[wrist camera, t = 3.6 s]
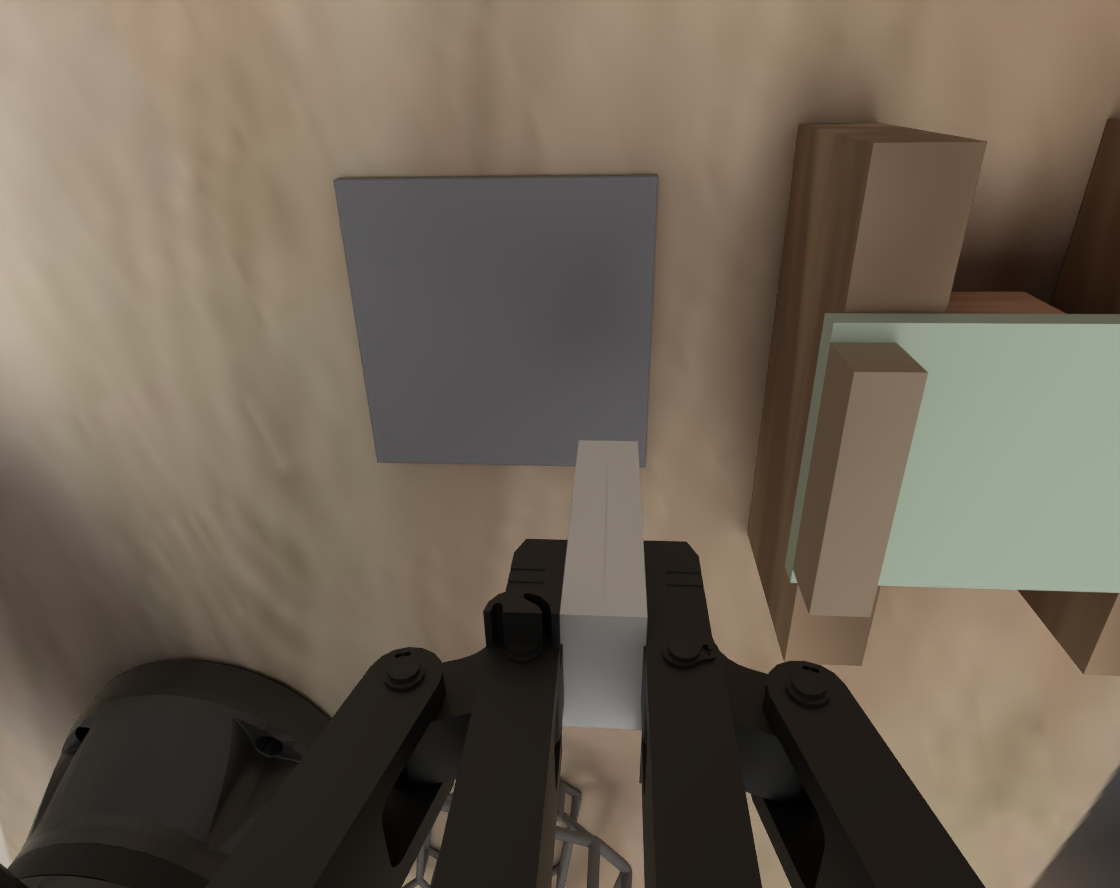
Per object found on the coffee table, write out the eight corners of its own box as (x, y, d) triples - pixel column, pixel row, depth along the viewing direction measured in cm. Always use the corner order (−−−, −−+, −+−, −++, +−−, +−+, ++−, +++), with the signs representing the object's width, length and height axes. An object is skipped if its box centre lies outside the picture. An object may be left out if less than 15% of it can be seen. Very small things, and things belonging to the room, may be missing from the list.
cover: (784, 566, 22) (806, 629, 19) (825, 312, 18) (858, 350, 16) (1235, 579, 21) (1319, 647, 18) (1374, 315, 17) (1503, 355, 15)
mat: (381, 455, 30) (377, 462, 29) (339, 177, 25) (333, 180, 24) (644, 460, 29) (645, 467, 28) (656, 174, 24) (657, 177, 23)
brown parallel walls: (747, 534, 30) (784, 662, 24) (798, 123, 23) (874, 143, 16) (1041, 541, 29) (1164, 677, 23) (1193, 117, 22) (1442, 135, 15)
